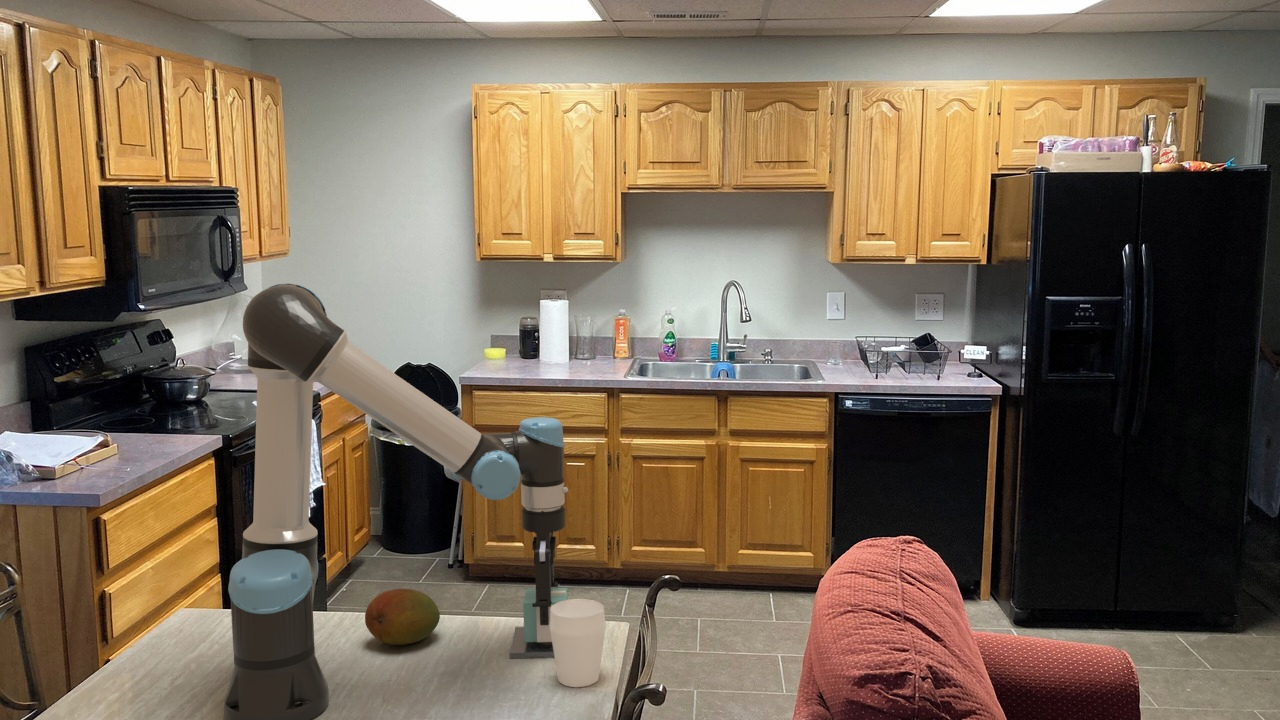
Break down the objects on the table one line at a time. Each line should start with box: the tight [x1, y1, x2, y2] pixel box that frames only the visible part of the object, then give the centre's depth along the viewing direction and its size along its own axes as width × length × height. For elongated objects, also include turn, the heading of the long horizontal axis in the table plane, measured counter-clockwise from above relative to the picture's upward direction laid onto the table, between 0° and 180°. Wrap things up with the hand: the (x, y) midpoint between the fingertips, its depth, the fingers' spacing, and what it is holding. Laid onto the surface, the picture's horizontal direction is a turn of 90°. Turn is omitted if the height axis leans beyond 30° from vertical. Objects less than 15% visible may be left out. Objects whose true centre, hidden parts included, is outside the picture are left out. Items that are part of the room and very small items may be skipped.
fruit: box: [364, 588, 441, 646], centre depth 181 cm, size 12×13×10 cm
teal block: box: [522, 587, 569, 642], centre depth 179 cm, size 7×7×8 cm
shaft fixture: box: [509, 626, 555, 660], centre depth 179 cm, size 12×12×6 cm
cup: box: [550, 598, 606, 688], centre depth 164 cm, size 9×9×12 cm
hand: (546, 632), depth 179 cm, fingers closed on teal block, 7 cm apart
